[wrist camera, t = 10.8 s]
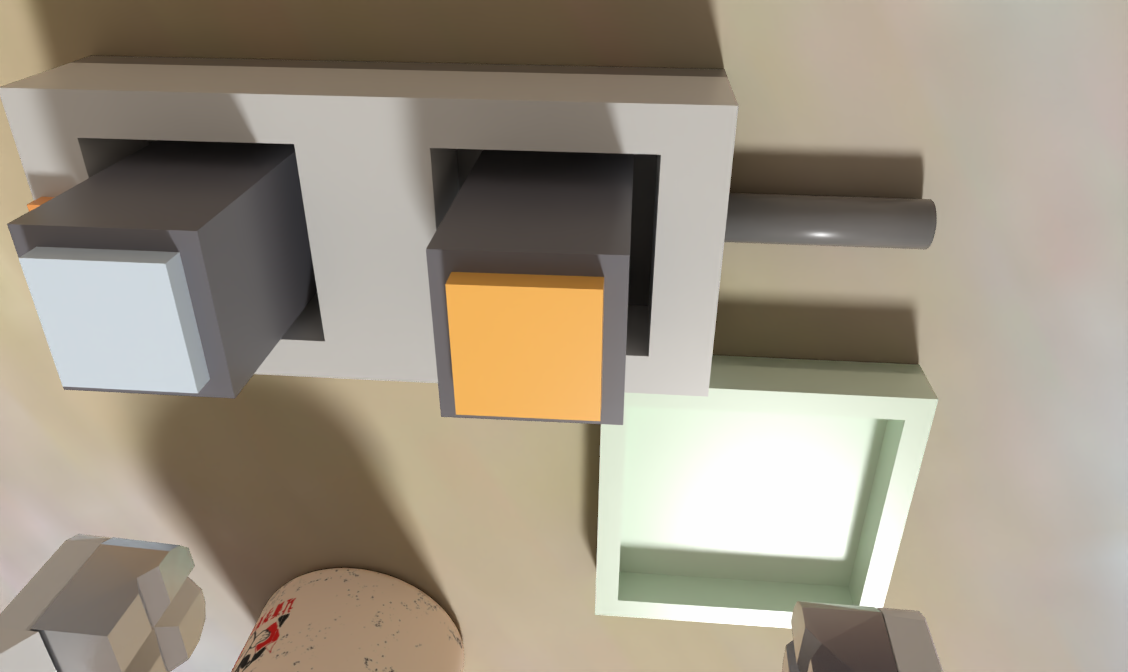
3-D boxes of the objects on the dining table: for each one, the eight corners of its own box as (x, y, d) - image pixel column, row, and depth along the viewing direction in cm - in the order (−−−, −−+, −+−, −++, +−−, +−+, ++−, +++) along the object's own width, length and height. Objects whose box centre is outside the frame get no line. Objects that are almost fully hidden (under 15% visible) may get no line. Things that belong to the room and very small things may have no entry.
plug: (634, 152, 23) (629, 267, 16) (629, 289, 25) (622, 440, 19) (483, 149, 23) (418, 260, 17) (490, 284, 25) (435, 431, 19)
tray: (919, 364, 27) (938, 399, 25) (863, 591, 32) (875, 634, 30) (605, 350, 27) (601, 383, 26) (598, 574, 32) (595, 614, 31)
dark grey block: (312, 137, 24) (183, 242, 17) (332, 272, 26) (223, 413, 19) (169, 133, 24) (-13, 235, 17) (200, 267, 26) (48, 403, 19)
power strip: (951, 73, 22) (1018, 119, 18) (893, 335, 26) (937, 420, 22) (91, 55, 24) (-20, 93, 20) (156, 303, 28) (75, 376, 24)
